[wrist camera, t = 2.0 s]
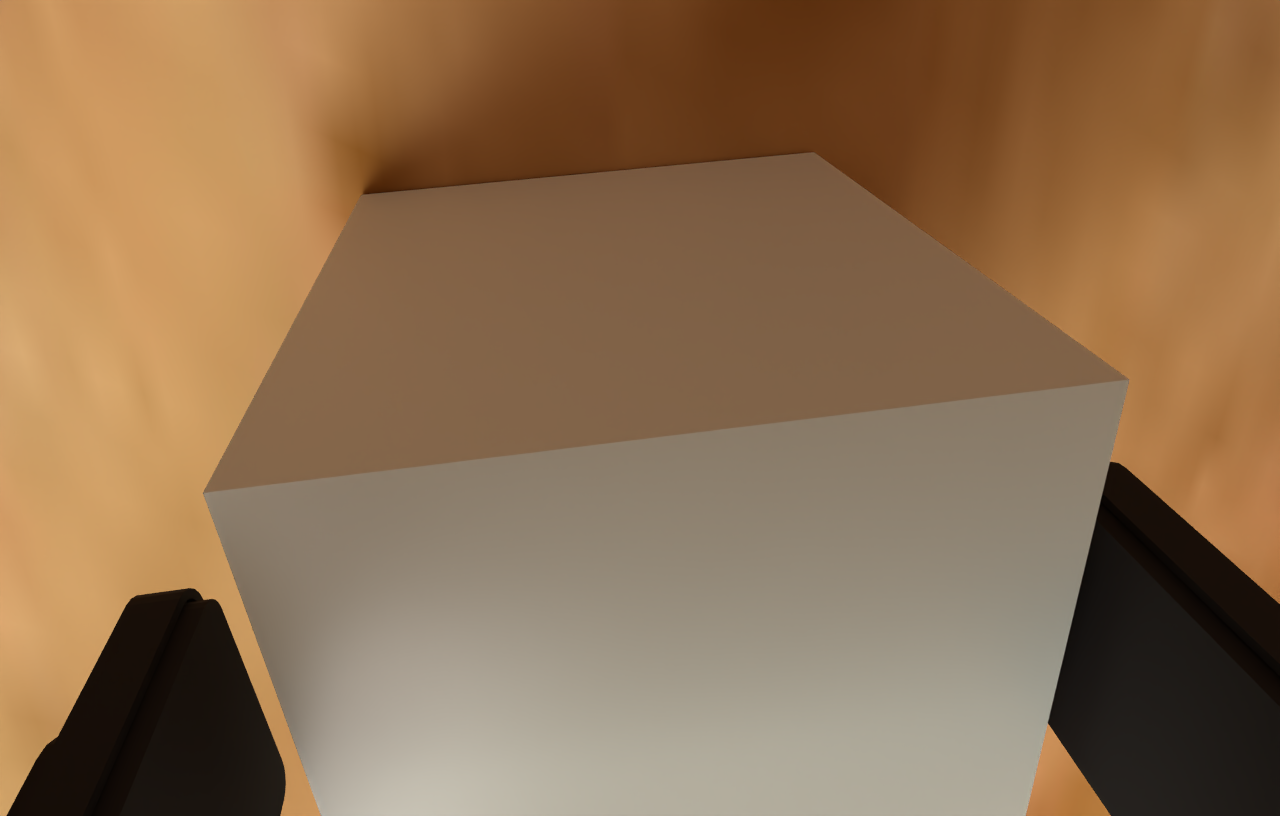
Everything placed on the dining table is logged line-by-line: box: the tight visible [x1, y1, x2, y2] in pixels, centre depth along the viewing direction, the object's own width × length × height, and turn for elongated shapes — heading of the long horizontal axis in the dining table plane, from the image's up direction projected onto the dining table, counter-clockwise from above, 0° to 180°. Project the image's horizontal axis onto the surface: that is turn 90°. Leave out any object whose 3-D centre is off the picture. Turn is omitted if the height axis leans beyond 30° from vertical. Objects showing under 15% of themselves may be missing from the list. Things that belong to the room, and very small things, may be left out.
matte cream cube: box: [203, 152, 1129, 816], centre depth 13 cm, size 8×8×9 cm
